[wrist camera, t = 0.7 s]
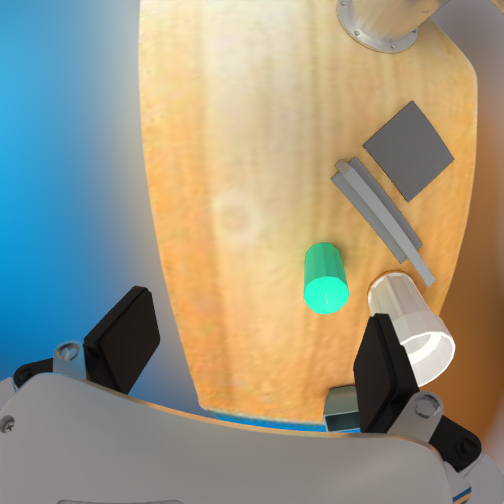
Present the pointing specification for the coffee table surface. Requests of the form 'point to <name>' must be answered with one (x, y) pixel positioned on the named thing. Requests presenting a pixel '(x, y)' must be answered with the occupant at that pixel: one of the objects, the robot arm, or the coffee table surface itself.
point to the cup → (412, 324)
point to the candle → (325, 279)
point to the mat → (409, 151)
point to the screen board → (380, 214)
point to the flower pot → (341, 410)
